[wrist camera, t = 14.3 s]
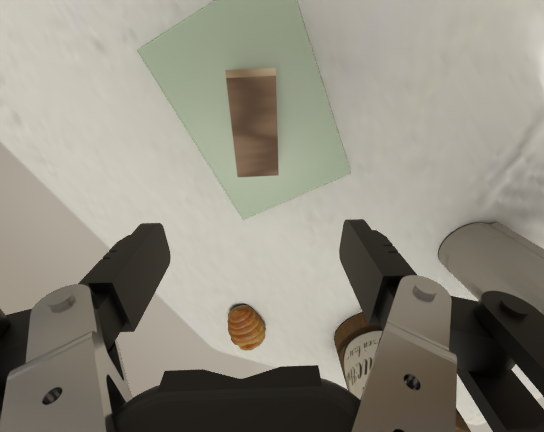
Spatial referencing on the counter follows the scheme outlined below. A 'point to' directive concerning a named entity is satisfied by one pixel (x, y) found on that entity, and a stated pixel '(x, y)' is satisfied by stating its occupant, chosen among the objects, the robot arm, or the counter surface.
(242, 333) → the pastry
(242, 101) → the walnut block
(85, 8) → the counter surface
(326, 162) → the green board
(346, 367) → the wooden container
